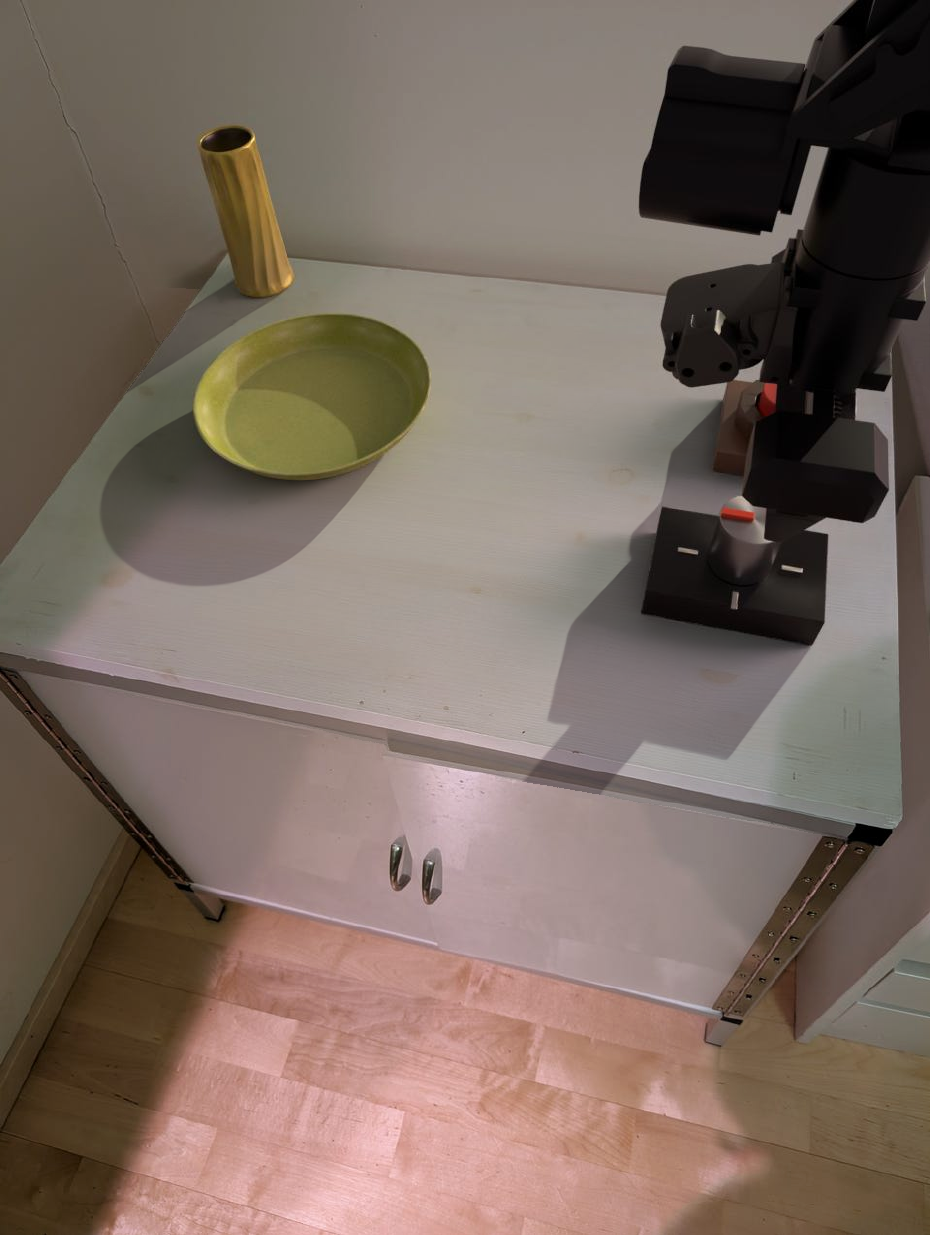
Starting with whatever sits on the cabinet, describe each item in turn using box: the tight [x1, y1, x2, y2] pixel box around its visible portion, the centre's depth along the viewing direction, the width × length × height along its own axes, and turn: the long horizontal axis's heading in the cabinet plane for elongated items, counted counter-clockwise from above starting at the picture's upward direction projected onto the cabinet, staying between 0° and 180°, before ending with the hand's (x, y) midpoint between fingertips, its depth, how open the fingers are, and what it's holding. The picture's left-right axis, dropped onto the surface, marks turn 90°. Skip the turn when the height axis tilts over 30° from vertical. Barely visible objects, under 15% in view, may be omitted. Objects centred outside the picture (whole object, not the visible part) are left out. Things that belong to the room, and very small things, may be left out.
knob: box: [708, 494, 782, 585], centre depth 57 cm, size 4×4×5 cm
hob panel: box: [640, 506, 829, 647], centre depth 61 cm, size 12×9×3 cm
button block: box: [711, 379, 835, 477], centre depth 68 cm, size 9×9×4 cm
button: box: [758, 383, 777, 417], centre depth 66 cm, size 4×4×2 cm
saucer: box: [192, 312, 432, 481], centre depth 73 cm, size 21×21×3 cm
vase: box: [196, 124, 295, 298], centre depth 81 cm, size 6×6×14 cm
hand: (777, 482), depth 51 cm, fingers open, 9 cm apart
